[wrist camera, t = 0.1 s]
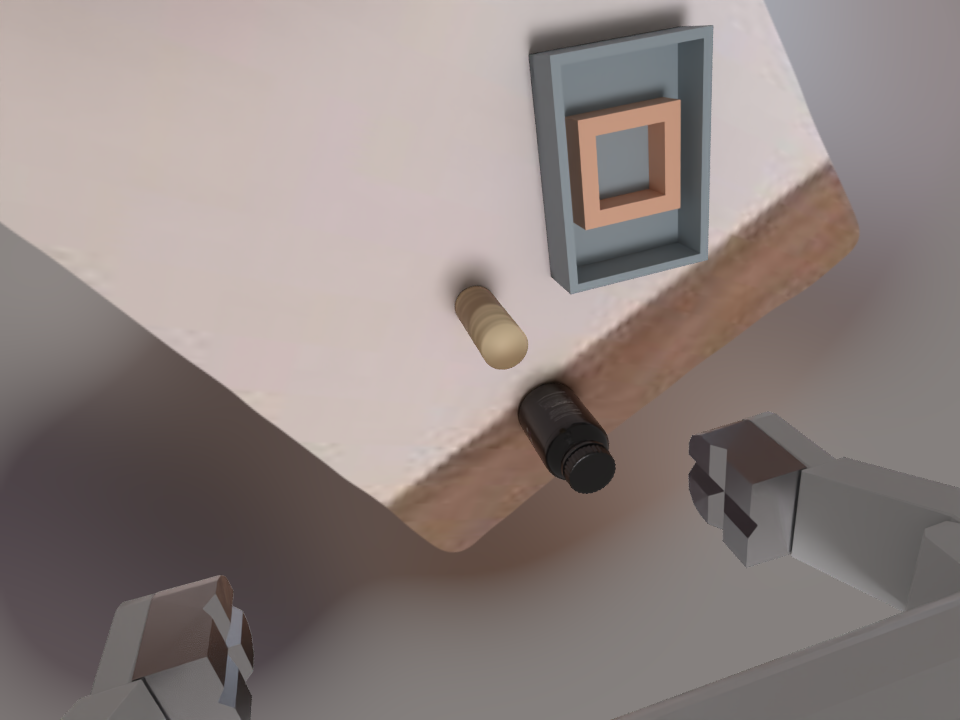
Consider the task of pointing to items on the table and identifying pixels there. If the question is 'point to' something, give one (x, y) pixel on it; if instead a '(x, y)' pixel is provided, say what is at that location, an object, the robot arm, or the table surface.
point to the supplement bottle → (567, 437)
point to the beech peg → (491, 328)
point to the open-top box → (625, 154)
